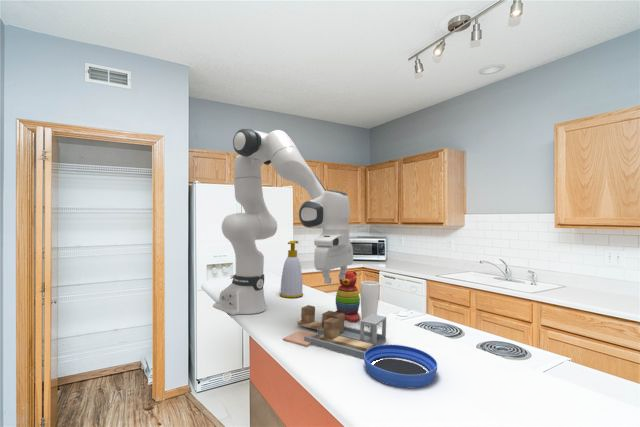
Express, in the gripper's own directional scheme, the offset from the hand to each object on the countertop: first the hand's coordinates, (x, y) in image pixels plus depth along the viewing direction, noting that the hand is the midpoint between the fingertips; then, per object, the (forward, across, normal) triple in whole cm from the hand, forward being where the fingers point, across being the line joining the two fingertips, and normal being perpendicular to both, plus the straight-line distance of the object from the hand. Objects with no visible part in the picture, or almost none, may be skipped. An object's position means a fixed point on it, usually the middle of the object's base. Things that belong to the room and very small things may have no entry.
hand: (335, 281), depth 109 cm
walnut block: (+15, 0, 0) cm, 15 cm away
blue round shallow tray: (+18, +12, +26) cm, 34 cm away
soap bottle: (+17, -33, -42) cm, 56 cm away
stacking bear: (+18, -19, -5) cm, 26 cm away
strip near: (+18, +7, +8) cm, 21 cm away
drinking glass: (+18, -17, +5) cm, 25 cm away
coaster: (+17, +9, -6) cm, 21 cm away
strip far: (+17, 0, -5) cm, 18 cm away
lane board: (+18, +4, +6) cm, 19 cm away
